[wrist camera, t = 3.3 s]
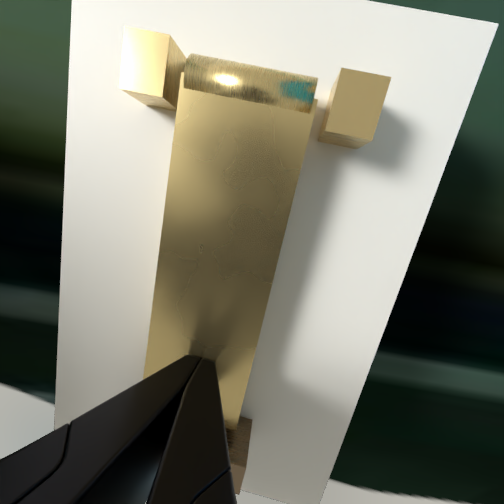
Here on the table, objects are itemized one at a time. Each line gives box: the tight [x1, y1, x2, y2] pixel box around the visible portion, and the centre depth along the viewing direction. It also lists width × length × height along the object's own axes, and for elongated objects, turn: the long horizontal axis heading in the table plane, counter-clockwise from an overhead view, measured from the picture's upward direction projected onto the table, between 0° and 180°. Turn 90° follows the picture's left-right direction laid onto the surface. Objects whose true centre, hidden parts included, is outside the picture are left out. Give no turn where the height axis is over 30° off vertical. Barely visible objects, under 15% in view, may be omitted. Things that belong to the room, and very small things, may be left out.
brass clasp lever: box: [143, 53, 318, 431], centre depth 7 cm, size 10×3×1 cm, turn 167°
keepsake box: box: [54, 0, 498, 504], centre depth 10 cm, size 15×10×7 cm
